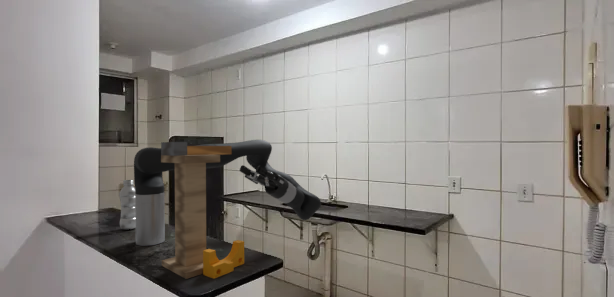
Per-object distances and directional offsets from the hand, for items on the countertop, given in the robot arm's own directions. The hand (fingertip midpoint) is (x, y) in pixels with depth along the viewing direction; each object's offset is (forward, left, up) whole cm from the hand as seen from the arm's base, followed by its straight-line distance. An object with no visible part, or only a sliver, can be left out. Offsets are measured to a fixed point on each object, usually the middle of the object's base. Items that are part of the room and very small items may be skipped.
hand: (248, 168), depth 105 cm
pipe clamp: (+9, -15, -27) cm, 32 cm away
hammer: (0, -17, +5) cm, 18 cm away
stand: (0, -20, -26) cm, 33 cm away
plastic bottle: (-59, -16, -27) cm, 67 cm away
